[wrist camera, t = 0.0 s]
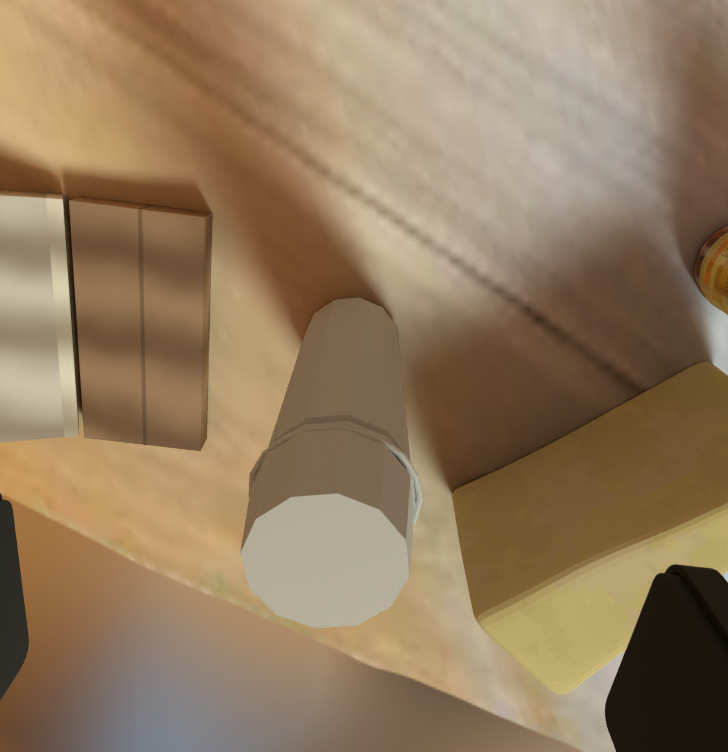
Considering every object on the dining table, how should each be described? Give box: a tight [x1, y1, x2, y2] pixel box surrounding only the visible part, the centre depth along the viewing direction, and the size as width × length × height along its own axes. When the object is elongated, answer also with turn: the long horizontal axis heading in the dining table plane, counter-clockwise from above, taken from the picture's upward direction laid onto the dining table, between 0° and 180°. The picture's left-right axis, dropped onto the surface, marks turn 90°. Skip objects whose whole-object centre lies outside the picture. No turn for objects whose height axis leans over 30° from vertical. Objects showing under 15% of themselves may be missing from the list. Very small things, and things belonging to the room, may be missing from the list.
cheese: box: [452, 362, 728, 694], centre depth 43 cm, size 22×10×15 cm, turn 133°
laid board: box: [69, 197, 212, 451], centre depth 45 cm, size 18×9×2 cm, turn 173°
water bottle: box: [241, 297, 423, 628], centre depth 35 cm, size 9×8×25 cm
